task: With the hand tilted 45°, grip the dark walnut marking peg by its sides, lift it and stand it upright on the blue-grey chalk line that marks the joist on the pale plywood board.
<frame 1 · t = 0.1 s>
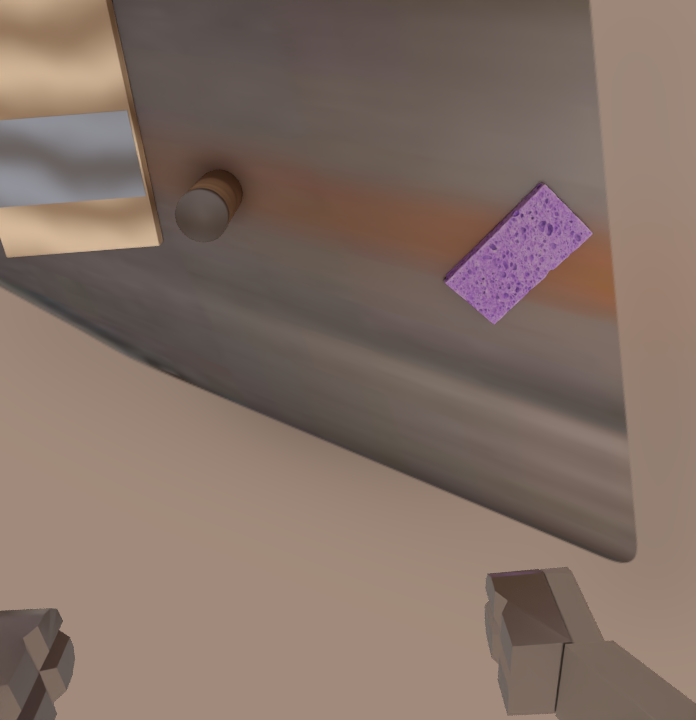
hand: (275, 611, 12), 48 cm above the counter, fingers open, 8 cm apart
plywood board: (51, 108, 51), on the counter
marking peg: (220, 192, 55), on the counter
sponges: (512, 252, 59), on the counter
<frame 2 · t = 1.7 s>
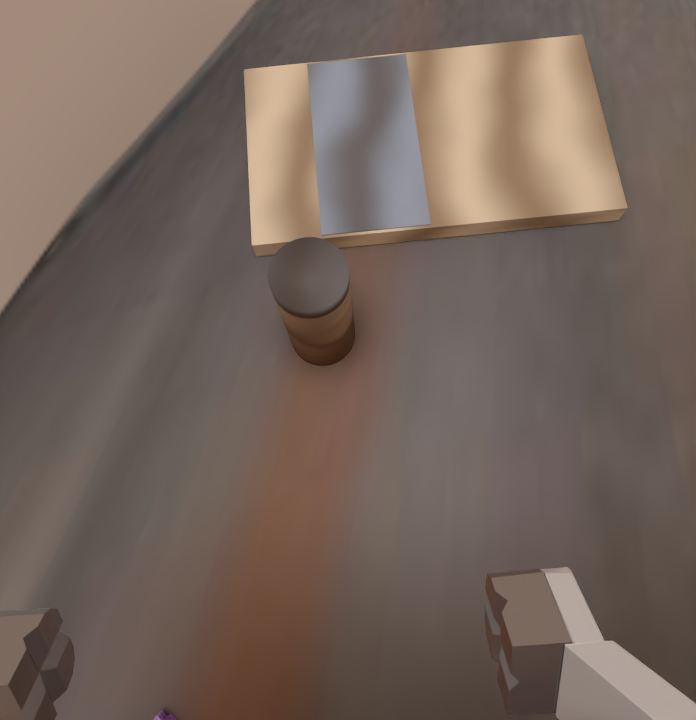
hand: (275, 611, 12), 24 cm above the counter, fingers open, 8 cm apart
plywood board: (423, 149, 42), on the counter
marking peg: (323, 335, 38), on the counter
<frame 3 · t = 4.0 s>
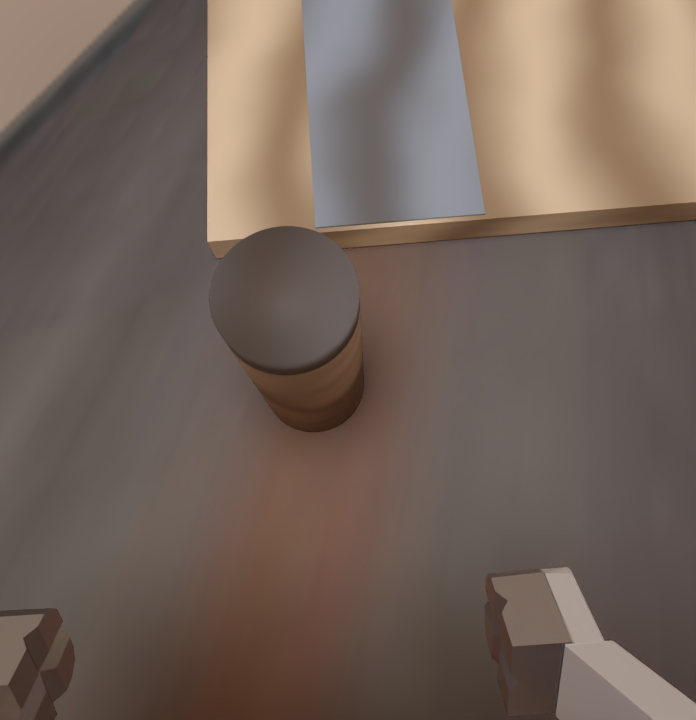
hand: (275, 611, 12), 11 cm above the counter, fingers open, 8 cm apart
plywood board: (469, 104, 29), on the counter
marking peg: (314, 383, 25), on the counter
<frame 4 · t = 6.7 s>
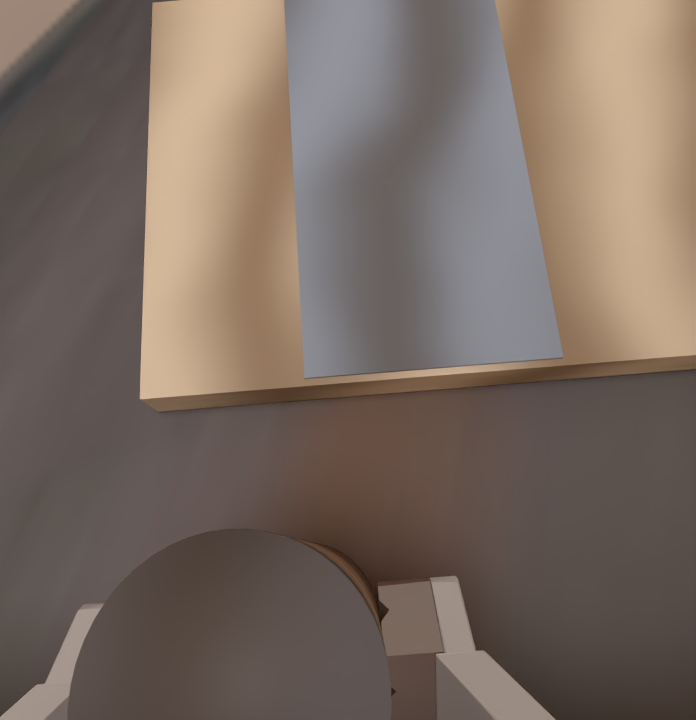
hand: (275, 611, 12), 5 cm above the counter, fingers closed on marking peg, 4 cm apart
plywood board: (526, 175, 20), on the counter
marking peg: (303, 621, 16), on the counter, touching gripper
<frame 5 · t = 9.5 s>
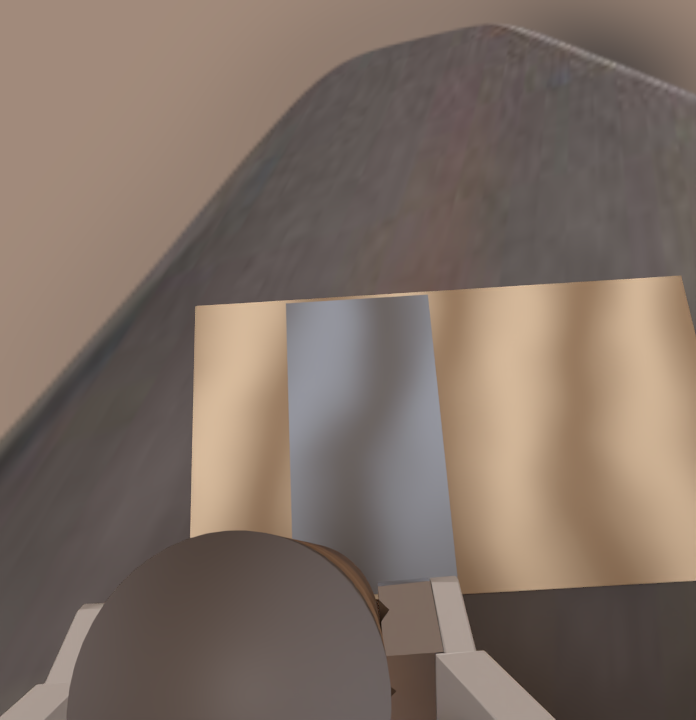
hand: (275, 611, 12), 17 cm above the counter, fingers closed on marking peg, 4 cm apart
plywood board: (448, 436, 29), on the counter
marking peg: (303, 622, 16), point 12 cm above the counter, touching gripper
when the fingers open (7 cm above the counter, at t = 12.7 s): marking peg stays where it is, resting on plywood board.
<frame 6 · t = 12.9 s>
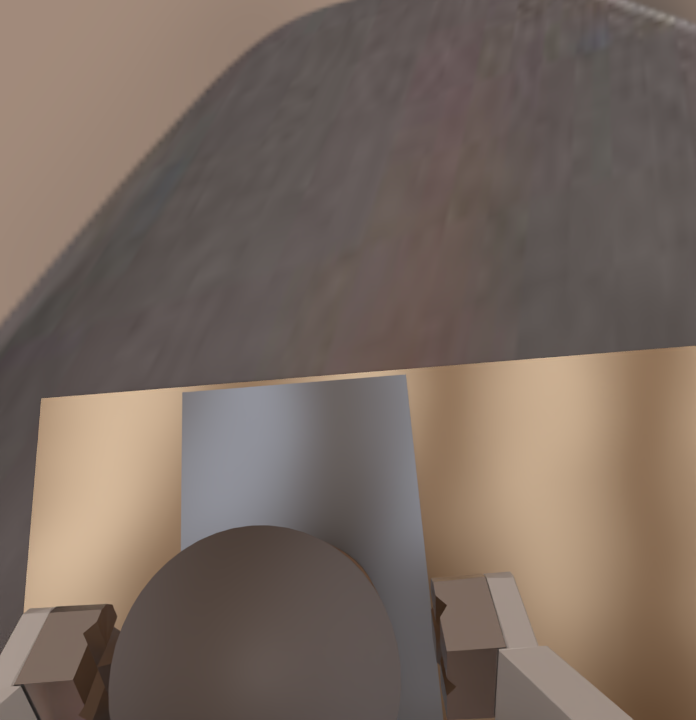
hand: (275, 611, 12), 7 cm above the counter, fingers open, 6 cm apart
plywood board: (442, 603, 18), on the counter
marking peg: (308, 617, 17), point 2 cm above the counter, touching plywood board
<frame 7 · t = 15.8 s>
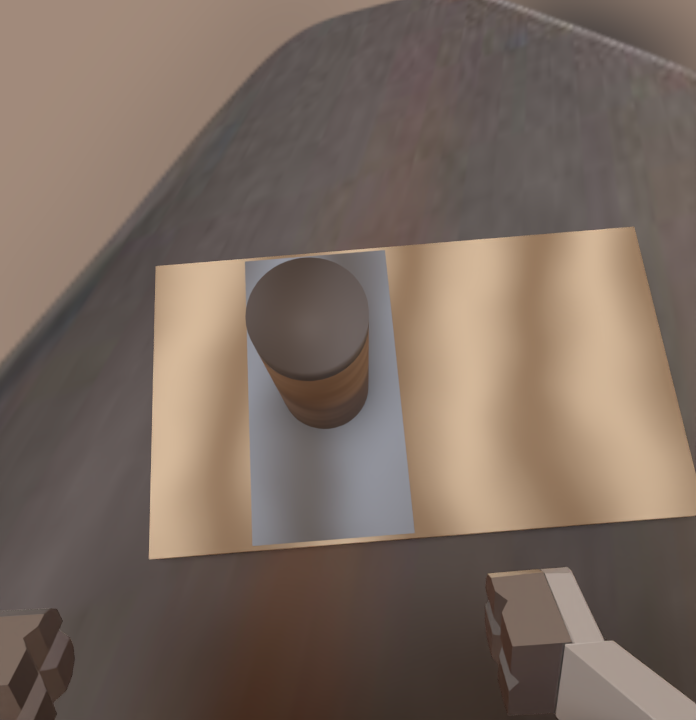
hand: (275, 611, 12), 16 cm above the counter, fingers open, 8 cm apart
plywood board: (407, 389, 30), on the counter
marking peg: (325, 386, 28), point 2 cm above the counter, touching plywood board
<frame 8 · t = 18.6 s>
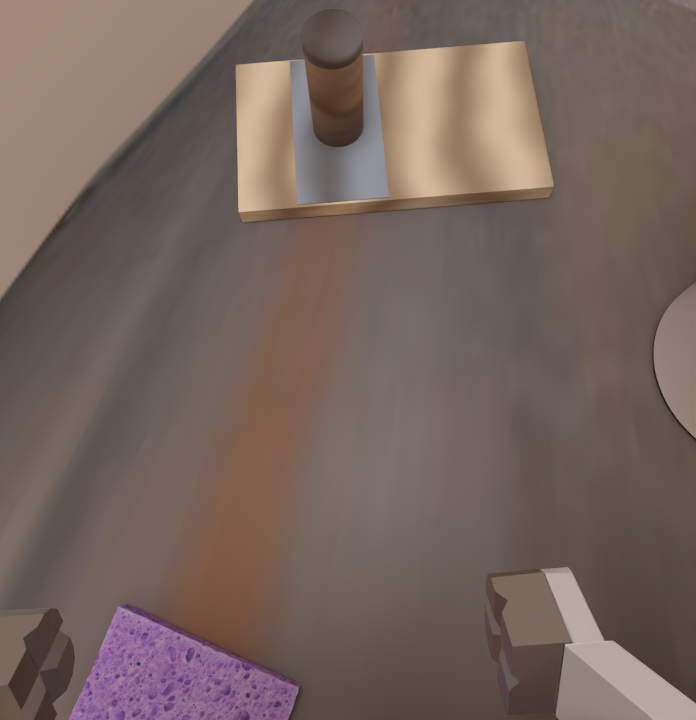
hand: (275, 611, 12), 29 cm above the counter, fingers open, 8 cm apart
plywood board: (386, 135, 50), on the counter
marking peg: (338, 125, 48), point 2 cm above the counter, touching plywood board
sponges: (191, 696, 38), on the counter
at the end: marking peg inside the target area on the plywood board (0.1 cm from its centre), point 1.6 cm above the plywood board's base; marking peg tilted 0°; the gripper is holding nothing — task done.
